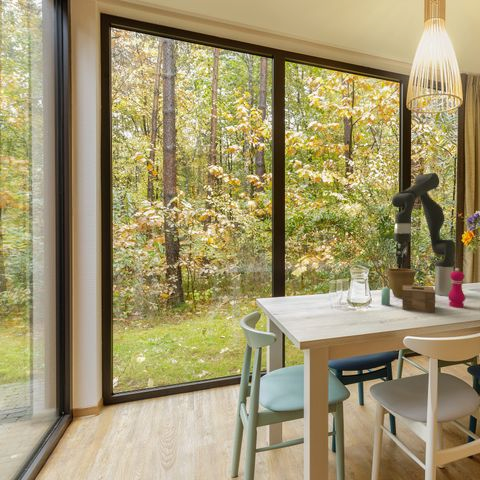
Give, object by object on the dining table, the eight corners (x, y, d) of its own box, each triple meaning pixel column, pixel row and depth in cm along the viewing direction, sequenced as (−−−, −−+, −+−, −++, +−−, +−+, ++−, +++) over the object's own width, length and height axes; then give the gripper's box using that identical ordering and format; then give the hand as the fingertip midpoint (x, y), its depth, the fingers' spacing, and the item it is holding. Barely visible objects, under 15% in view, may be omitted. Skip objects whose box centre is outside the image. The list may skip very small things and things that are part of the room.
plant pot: (415, 295, 187) (416, 269, 186) (414, 300, 174) (414, 272, 173) (388, 292, 195) (388, 267, 194) (385, 297, 182) (385, 270, 181)
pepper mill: (467, 308, 158) (468, 269, 157) (451, 307, 160) (452, 268, 159) (460, 304, 165) (461, 267, 164) (445, 304, 167) (446, 267, 166)
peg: (381, 303, 170) (381, 286, 170) (389, 304, 168) (390, 287, 168) (381, 305, 166) (381, 288, 166) (389, 305, 165) (389, 289, 164)
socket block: (402, 303, 170) (402, 284, 169) (432, 306, 163) (432, 287, 163) (402, 309, 157) (402, 289, 157) (434, 312, 151) (435, 292, 150)
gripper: (397, 232, 168) (396, 262, 169) (391, 232, 157) (390, 264, 158) (413, 232, 163) (412, 263, 164) (407, 232, 152) (406, 265, 153)
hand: (401, 263), depth 161 cm, fingers open, 8 cm apart
